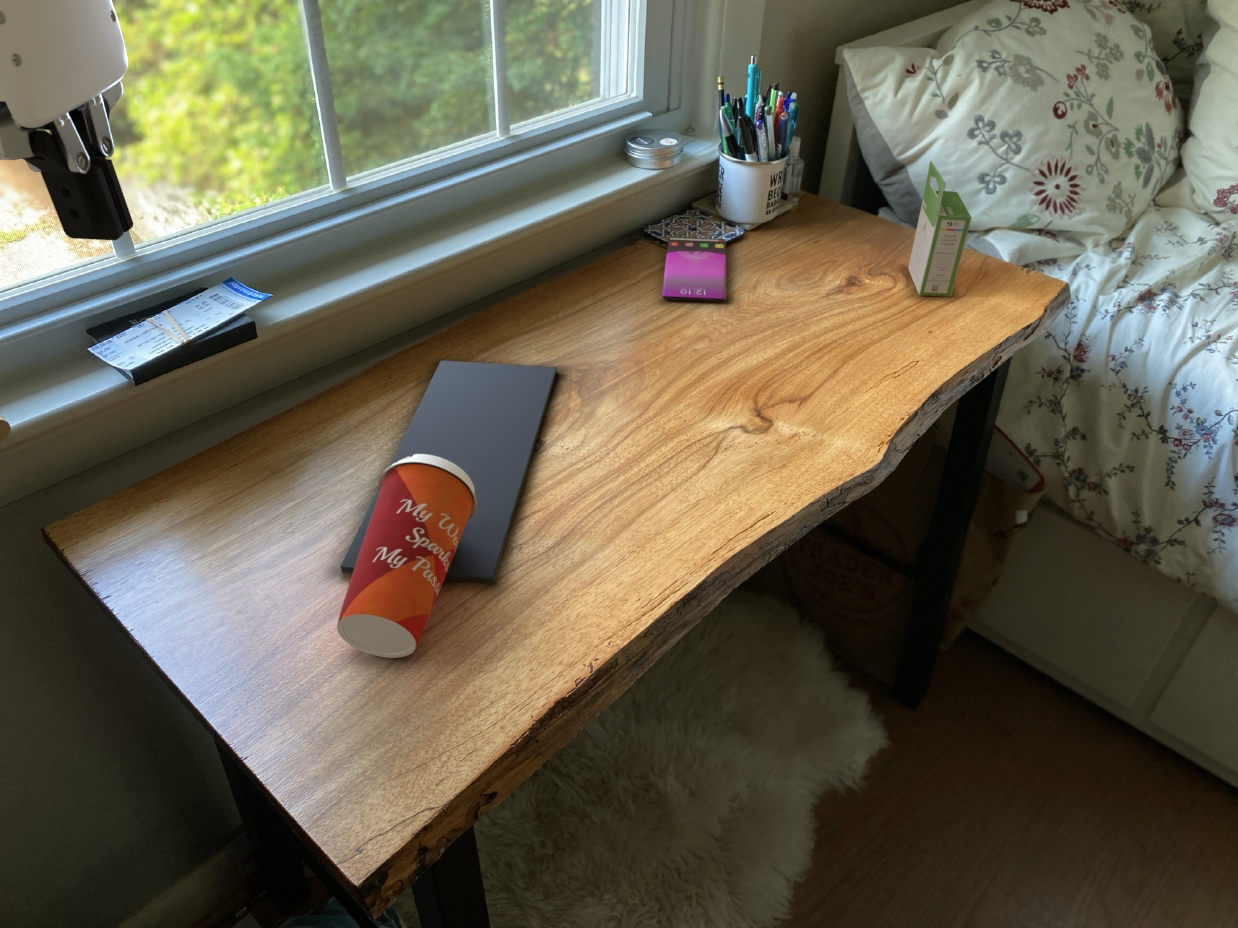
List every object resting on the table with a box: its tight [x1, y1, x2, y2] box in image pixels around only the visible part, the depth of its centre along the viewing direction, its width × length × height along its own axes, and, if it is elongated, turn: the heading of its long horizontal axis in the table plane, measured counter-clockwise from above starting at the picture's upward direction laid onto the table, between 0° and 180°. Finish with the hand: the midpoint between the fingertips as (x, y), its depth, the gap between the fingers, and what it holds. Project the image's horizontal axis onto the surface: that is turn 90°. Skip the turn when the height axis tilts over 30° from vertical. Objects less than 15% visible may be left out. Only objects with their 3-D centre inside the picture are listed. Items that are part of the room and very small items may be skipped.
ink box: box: [907, 160, 972, 298], centre depth 105 cm, size 7×4×13 cm, turn 177°
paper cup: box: [336, 454, 477, 659], centre depth 68 cm, size 8×8×14 cm
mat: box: [340, 360, 558, 585], centre depth 83 cm, size 30×12×1 cm, turn 174°
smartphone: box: [661, 236, 727, 303], centre depth 111 cm, size 7×15×1 cm, turn 175°
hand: (101, 232), depth 53 cm, fingers closed
